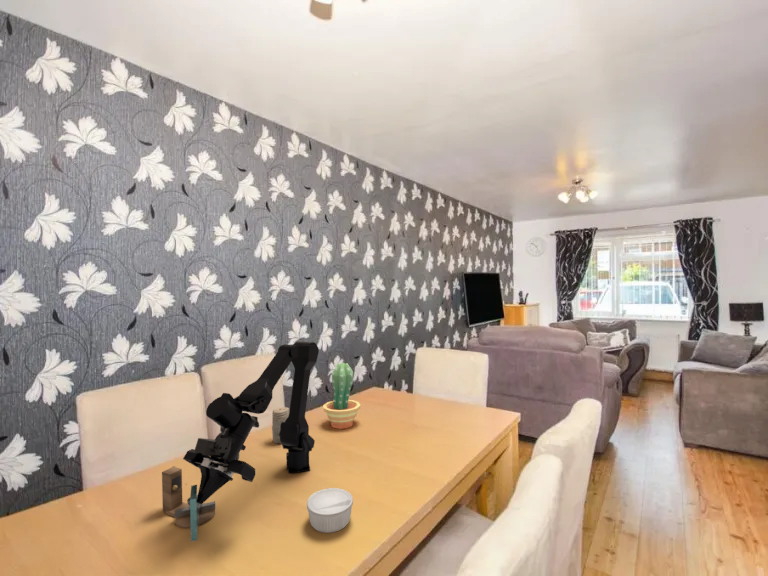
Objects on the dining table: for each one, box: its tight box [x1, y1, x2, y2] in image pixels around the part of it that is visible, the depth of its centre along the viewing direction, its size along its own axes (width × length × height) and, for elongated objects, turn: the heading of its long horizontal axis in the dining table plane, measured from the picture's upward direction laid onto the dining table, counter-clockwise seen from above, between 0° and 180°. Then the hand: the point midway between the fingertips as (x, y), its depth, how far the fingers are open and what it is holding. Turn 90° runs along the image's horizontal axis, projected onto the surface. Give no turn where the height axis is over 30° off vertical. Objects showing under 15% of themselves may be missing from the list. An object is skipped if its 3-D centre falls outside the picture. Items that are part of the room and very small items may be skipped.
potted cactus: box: [323, 362, 361, 430], centre depth 157 cm, size 15×15×25 cm
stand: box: [161, 466, 216, 529], centre depth 97 cm, size 9×15×10 cm, turn 65°
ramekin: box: [306, 487, 354, 534], centre depth 93 cm, size 11×11×5 cm
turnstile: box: [174, 484, 216, 543], centre depth 92 cm, size 9×16×9 cm, turn 24°
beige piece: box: [271, 406, 290, 445], centre depth 141 cm, size 6×8×12 cm
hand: (198, 503), depth 87 cm, fingers closed
